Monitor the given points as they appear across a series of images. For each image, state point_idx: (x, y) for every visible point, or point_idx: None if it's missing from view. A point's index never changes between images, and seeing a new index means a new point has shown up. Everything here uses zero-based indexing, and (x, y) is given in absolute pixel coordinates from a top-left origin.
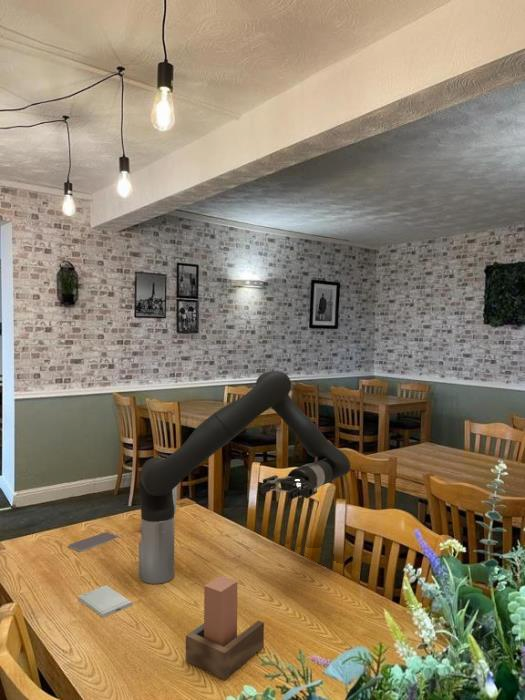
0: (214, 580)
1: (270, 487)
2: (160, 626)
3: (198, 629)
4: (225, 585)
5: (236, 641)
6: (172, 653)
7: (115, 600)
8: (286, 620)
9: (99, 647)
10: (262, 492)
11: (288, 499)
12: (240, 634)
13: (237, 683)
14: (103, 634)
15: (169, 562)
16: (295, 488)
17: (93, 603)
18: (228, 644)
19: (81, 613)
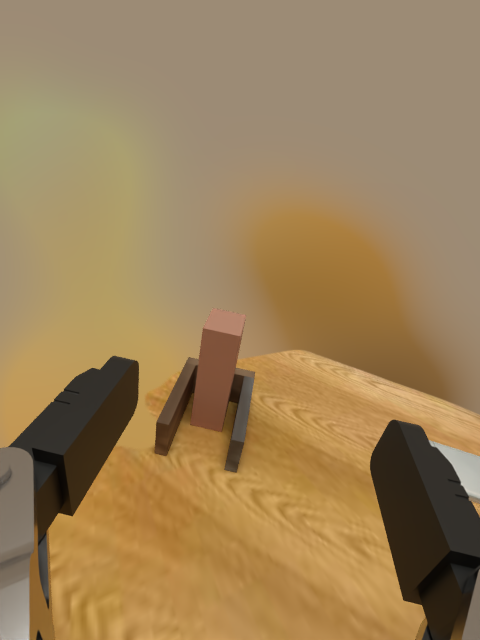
0: (241, 325)
1: (434, 609)
2: (338, 450)
3: (248, 384)
4: (215, 318)
5: (183, 375)
6: (274, 406)
7: (460, 475)
8: (123, 566)
9: (355, 394)
10: (373, 453)
11: (132, 409)
12: (184, 388)
13: (169, 384)
14: (378, 413)
15: None
16: (62, 434)
17: (469, 455)
18: (191, 369)
19: (455, 441)
